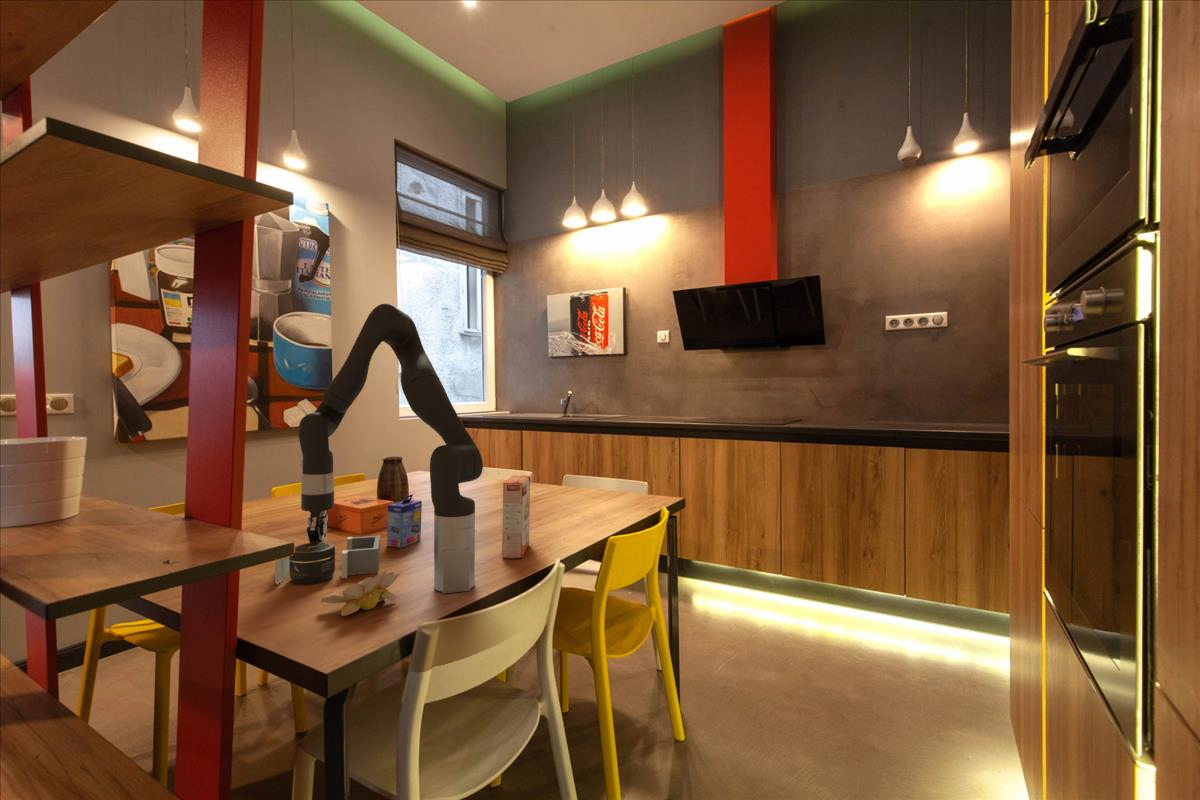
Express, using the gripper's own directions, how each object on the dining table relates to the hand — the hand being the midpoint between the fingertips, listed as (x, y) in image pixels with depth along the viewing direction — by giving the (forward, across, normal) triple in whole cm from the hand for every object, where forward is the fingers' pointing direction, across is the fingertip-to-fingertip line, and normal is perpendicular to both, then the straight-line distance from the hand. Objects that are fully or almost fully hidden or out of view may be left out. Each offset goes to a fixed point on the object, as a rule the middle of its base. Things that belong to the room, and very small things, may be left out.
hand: (317, 557), depth 144 cm
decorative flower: (+2, -30, -15) cm, 34 cm away
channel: (+3, -2, -4) cm, 5 cm away
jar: (+3, -8, 0) cm, 9 cm away
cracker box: (+2, +2, -51) cm, 51 cm away
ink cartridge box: (+3, +19, -20) cm, 28 cm away
